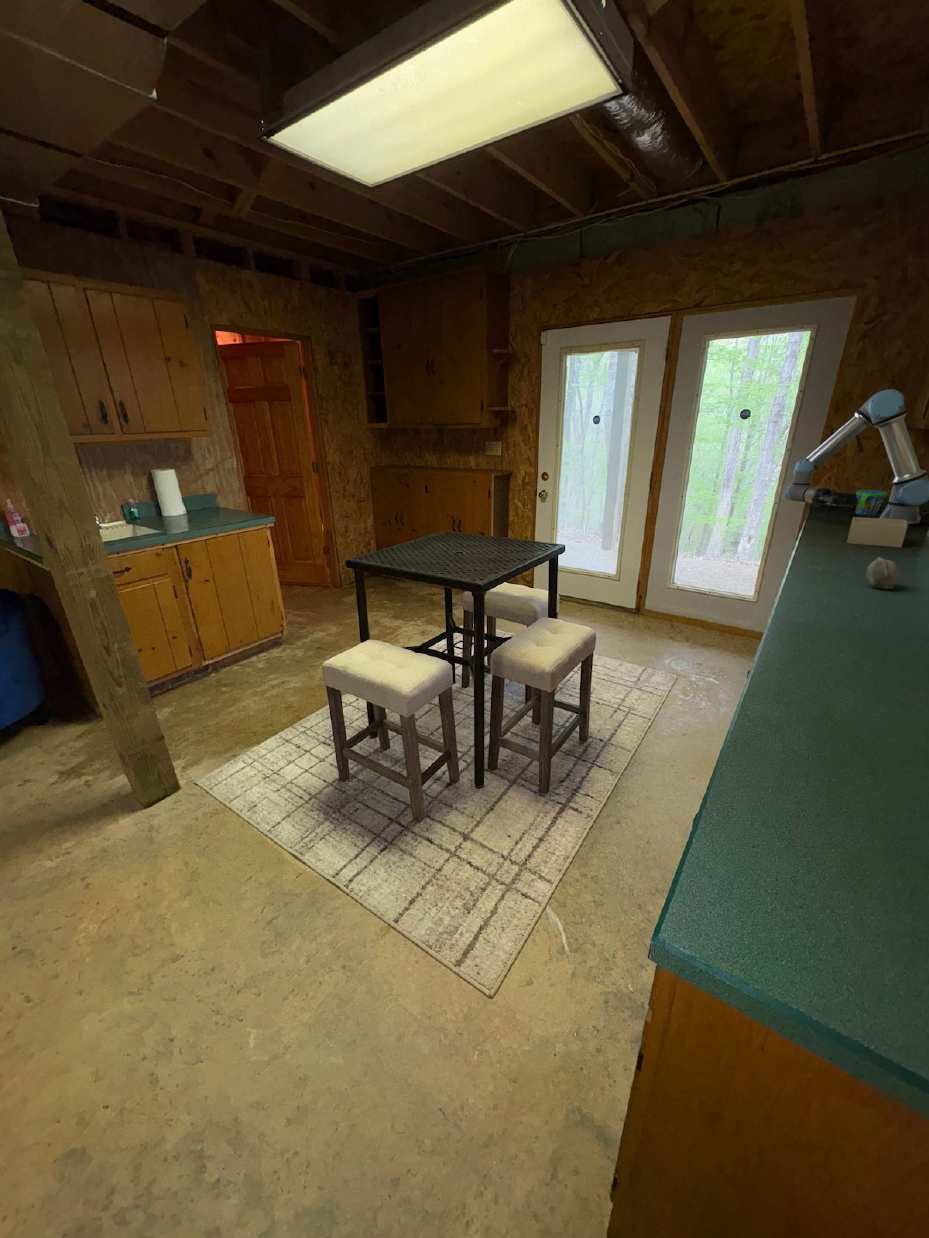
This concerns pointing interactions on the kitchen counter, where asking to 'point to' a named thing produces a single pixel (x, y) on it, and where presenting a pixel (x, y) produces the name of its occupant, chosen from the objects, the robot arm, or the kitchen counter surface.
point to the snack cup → (869, 502)
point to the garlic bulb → (882, 574)
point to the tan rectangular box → (877, 531)
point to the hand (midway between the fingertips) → (866, 500)
